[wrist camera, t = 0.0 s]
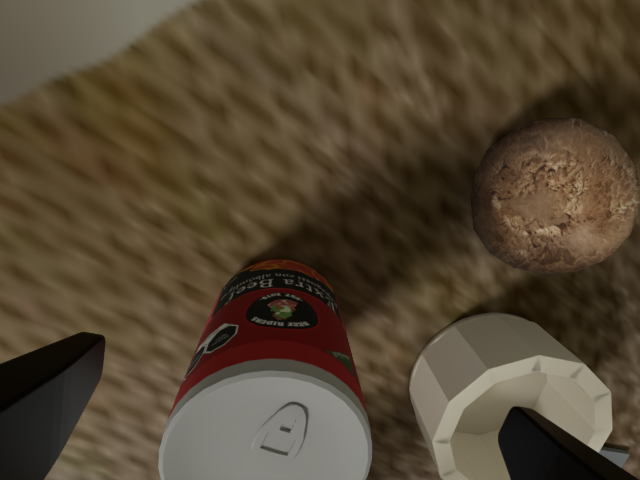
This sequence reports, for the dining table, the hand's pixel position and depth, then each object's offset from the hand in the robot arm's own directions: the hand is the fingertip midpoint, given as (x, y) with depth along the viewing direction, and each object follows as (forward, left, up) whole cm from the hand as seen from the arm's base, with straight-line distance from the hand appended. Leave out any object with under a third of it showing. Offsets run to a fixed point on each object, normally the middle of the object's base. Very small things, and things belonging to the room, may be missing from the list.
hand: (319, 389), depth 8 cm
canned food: (-6, 0, -15) cm, 16 cm away
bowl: (-8, -15, -15) cm, 23 cm away
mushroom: (+5, -12, -15) cm, 20 cm away
